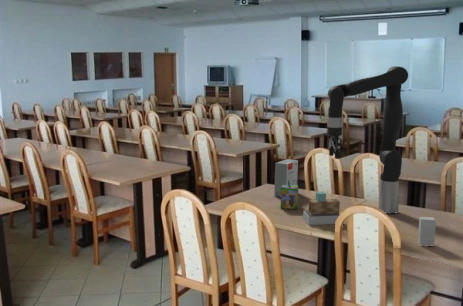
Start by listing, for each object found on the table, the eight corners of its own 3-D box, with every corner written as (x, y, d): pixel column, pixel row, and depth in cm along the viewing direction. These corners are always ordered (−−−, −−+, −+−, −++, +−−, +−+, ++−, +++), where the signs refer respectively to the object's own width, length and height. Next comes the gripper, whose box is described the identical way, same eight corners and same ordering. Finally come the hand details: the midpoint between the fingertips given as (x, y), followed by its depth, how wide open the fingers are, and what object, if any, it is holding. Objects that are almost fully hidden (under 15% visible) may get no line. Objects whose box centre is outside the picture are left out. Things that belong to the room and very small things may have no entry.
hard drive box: (285, 198, 291) (286, 164, 288) (273, 196, 295) (274, 162, 292) (297, 192, 304) (298, 160, 300) (286, 190, 308) (286, 158, 305)
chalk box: (297, 209, 268) (298, 182, 266) (280, 208, 270) (280, 181, 268) (298, 205, 277) (299, 178, 275) (281, 204, 279) (282, 178, 276)
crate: (323, 199, 250) (323, 191, 249) (325, 201, 246) (326, 193, 245) (315, 199, 249) (315, 191, 249) (317, 201, 245) (318, 193, 245)
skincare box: (431, 243, 219) (434, 217, 217) (434, 247, 215) (436, 220, 213) (417, 242, 220) (419, 216, 218) (419, 246, 216) (421, 219, 214)
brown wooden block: (335, 210, 252) (336, 198, 251) (339, 213, 247) (339, 201, 246) (308, 211, 250) (309, 199, 249) (311, 214, 246) (311, 202, 245)
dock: (333, 217, 255) (334, 208, 255) (340, 223, 246) (340, 214, 245) (303, 218, 254) (303, 209, 253) (308, 224, 244) (308, 215, 243)
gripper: (347, 127, 251) (346, 159, 254) (337, 124, 265) (336, 154, 268) (332, 128, 250) (331, 160, 253) (323, 124, 264) (322, 155, 267)
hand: (334, 157), depth 260 cm, fingers open, 8 cm apart
